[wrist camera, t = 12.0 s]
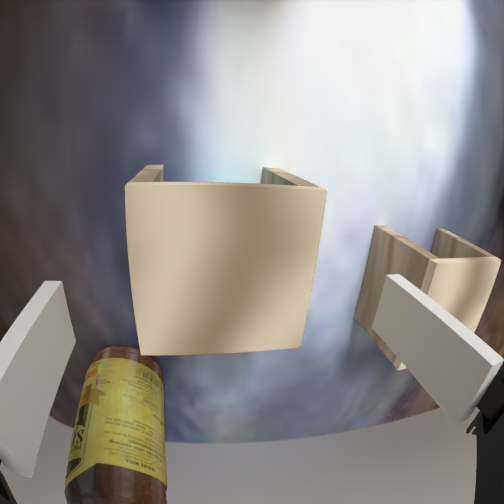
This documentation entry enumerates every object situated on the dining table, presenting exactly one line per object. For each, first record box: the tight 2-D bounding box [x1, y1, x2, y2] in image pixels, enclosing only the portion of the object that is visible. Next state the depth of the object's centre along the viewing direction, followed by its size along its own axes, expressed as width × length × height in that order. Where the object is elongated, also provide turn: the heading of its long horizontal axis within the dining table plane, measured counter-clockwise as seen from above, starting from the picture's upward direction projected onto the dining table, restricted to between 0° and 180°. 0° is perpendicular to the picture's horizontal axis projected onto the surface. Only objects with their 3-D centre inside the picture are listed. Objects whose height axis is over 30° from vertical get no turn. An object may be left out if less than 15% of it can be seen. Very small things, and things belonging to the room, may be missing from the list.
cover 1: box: [125, 165, 327, 355], centre depth 16 cm, size 8×8×7 cm
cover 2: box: [354, 225, 501, 370], centre depth 21 cm, size 8×8×7 cm
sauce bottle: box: [65, 345, 167, 504], centre depth 13 cm, size 7×6×20 cm
